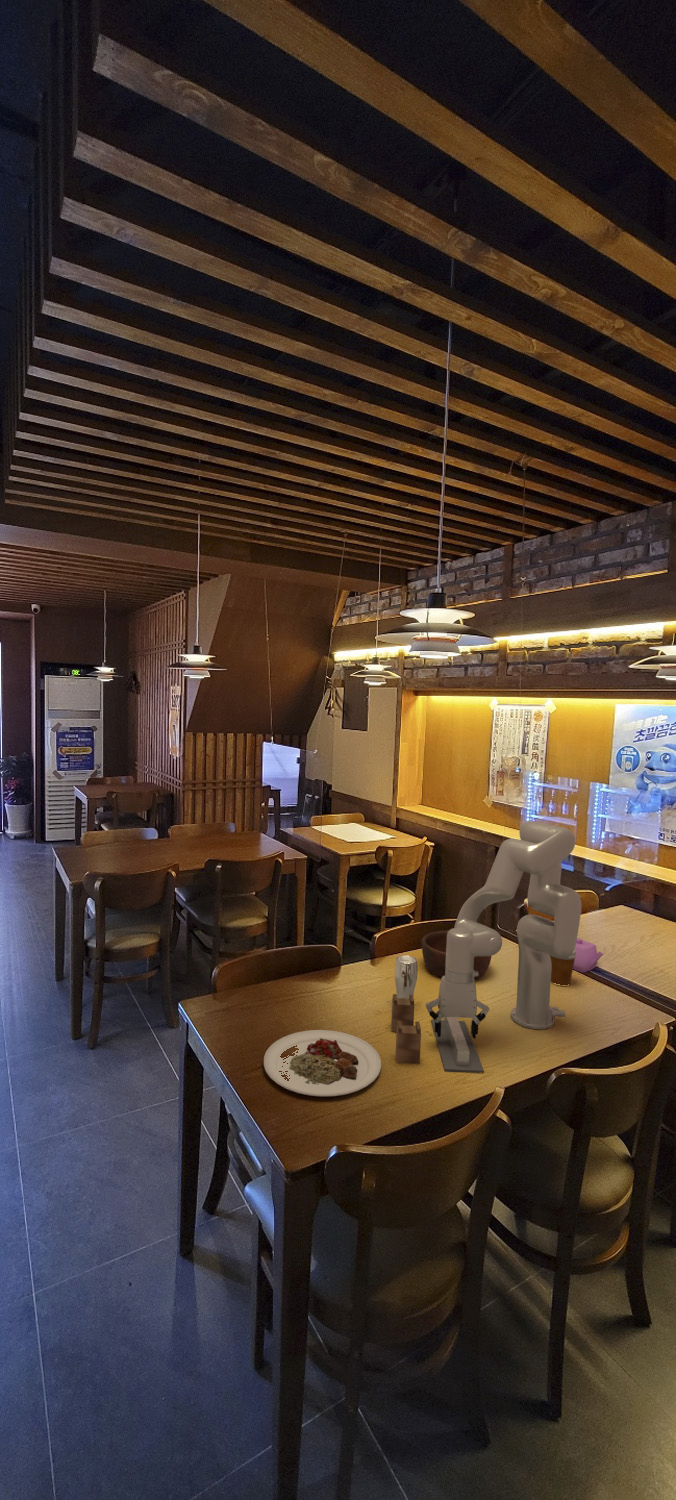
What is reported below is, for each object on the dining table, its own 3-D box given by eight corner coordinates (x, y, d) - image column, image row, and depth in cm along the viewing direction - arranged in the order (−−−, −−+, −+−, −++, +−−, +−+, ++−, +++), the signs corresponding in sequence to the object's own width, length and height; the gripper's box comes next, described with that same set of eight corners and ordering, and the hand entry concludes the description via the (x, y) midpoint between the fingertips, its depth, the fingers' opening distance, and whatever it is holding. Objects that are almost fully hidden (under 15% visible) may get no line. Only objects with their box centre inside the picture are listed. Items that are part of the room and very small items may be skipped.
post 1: (411, 1025, 184) (413, 994, 183) (413, 1032, 180) (414, 1001, 179) (391, 1024, 184) (392, 994, 183) (392, 1031, 180) (393, 1000, 179)
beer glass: (414, 1013, 191) (417, 964, 191) (392, 1010, 193) (394, 962, 192) (416, 1002, 198) (418, 956, 197) (394, 1000, 200) (396, 953, 199)
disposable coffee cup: (577, 981, 219) (579, 947, 219) (571, 991, 211) (573, 956, 211) (549, 974, 224) (551, 941, 224) (542, 983, 216) (544, 949, 216)
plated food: (285, 1114, 141) (286, 1099, 141) (249, 1047, 169) (249, 1035, 169) (402, 1087, 153) (403, 1074, 153) (350, 1029, 181) (351, 1017, 181)
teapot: (608, 971, 230) (610, 943, 229) (592, 977, 223) (594, 949, 223) (564, 955, 244) (565, 929, 243) (548, 961, 238) (549, 934, 237)
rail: (454, 1024, 184) (454, 1010, 184) (468, 1065, 162) (469, 1050, 162) (443, 1023, 184) (444, 1010, 184) (456, 1065, 162) (457, 1050, 162)
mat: (464, 1023, 186) (464, 1021, 186) (483, 1073, 160) (484, 1070, 160) (431, 1021, 186) (431, 1019, 186) (444, 1071, 160) (444, 1068, 160)
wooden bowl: (420, 954, 239) (421, 927, 239) (487, 960, 236) (489, 933, 235) (420, 981, 215) (421, 952, 214) (495, 988, 211) (496, 958, 211)
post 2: (418, 1055, 168) (419, 1021, 167) (419, 1063, 164) (421, 1029, 163) (395, 1054, 168) (396, 1020, 167) (396, 1062, 164) (398, 1028, 163)
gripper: (487, 970, 176) (484, 1030, 177) (425, 967, 176) (422, 1027, 177) (493, 981, 168) (490, 1044, 169) (429, 979, 169) (426, 1041, 170)
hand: (455, 1035), depth 173 cm, fingers open, 9 cm apart
